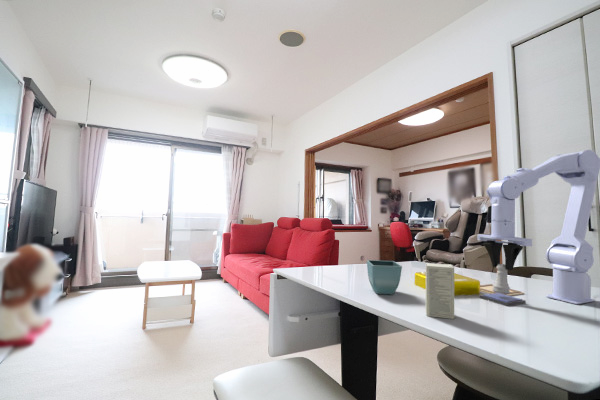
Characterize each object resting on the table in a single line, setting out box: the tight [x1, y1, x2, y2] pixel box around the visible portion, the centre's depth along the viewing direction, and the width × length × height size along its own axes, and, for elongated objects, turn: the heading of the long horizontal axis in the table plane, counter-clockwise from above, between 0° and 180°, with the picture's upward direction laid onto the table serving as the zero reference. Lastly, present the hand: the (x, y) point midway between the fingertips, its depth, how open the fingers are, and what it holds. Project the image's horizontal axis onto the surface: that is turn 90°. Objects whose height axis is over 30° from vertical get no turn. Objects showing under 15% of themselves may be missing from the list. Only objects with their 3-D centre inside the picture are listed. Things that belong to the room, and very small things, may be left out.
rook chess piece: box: [492, 263, 511, 294], centre depth 89 cm, size 4×4×8 cm
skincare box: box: [425, 262, 455, 320], centre depth 75 cm, size 6×4×12 cm
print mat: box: [480, 283, 525, 297], centre depth 100 cm, size 11×11×1 cm
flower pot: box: [366, 259, 403, 295], centre depth 94 cm, size 9×9×9 cm
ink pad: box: [479, 293, 526, 307], centre depth 89 cm, size 8×8×1 cm
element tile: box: [414, 271, 481, 296], centre depth 101 cm, size 15×15×5 cm
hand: (502, 268), depth 89 cm, fingers closed on rook chess piece, 3 cm apart
